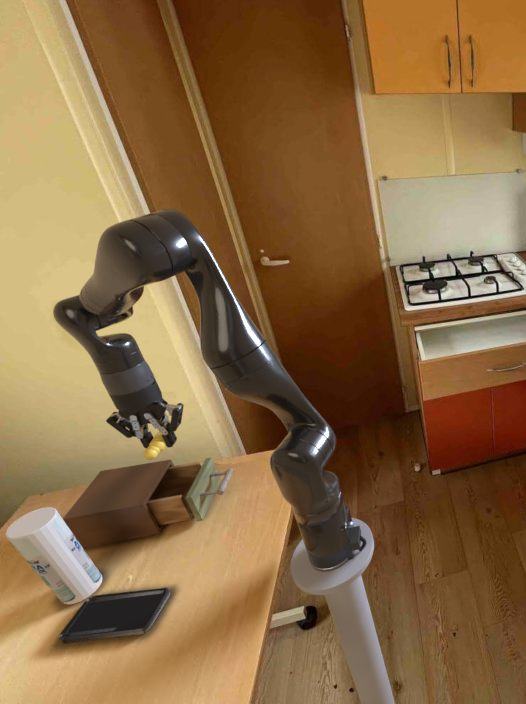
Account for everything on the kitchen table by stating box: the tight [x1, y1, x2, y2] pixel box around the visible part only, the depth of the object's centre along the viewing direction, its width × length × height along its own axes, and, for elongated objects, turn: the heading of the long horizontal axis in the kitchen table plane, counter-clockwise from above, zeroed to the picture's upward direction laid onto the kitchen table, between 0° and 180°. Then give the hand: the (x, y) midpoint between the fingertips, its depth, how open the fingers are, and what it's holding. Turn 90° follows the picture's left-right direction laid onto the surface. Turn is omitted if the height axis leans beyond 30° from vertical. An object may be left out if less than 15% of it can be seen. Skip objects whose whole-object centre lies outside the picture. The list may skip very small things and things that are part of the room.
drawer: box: [146, 457, 234, 526], centre depth 100 cm, size 18×12×8 cm
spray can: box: [5, 506, 103, 605], centre depth 80 cm, size 6×6×20 cm
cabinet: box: [62, 459, 175, 550], centre depth 98 cm, size 15×14×10 cm
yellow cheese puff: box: [143, 430, 167, 461], centre depth 93 cm, size 9×3×3 cm, turn 14°
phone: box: [58, 587, 171, 644], centre depth 80 cm, size 8×1×15 cm
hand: (162, 445), depth 94 cm, fingers closed on yellow cheese puff, 3 cm apart
